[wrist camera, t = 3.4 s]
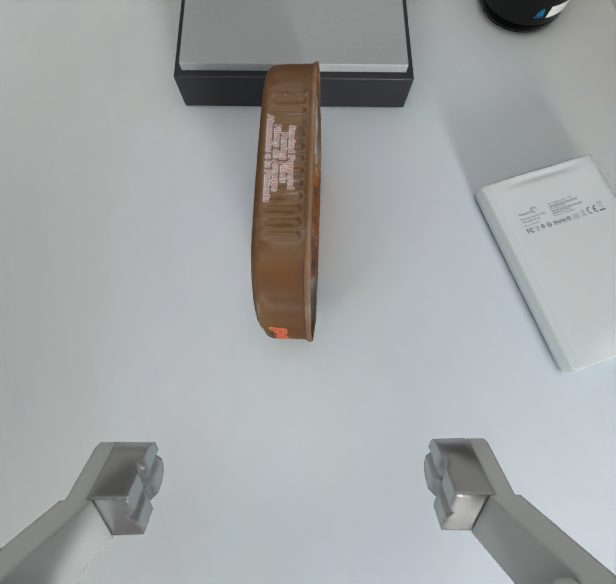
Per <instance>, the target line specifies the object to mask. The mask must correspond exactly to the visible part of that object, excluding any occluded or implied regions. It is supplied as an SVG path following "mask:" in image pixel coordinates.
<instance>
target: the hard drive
mask: <svg viewBox="0 0 616 584" xmlns="http://www.w3.org/2000/svg"><path fill="white" fill-rule="evenodd" d="M475 198H476V200H477V202H478V204H479V206H480V208H481V210H482V213H483V215H484V217H485V219H486V221H487V223H488V225H489V227H490V229H491V231H492V233H493V235H494V238H495V240H496V242H497V244H498V246H499V248H500V250H501V252H502V254H503V256H504V258H505V260H506V262H507V264H508V266H509V268H510V270H511V272H512V274H513V276H514V278H515V280H516V282H517V284H518V286H519V288H520V290H521V292H522V295H523V297H524V299H525V301H526V303H527V305H528V307H529V308H530V311H531V313H532V315H533V317H534V319H535V321H536V323H537V325H538V327H539V329H540V331H541V333H542V335H543V337H544V339H545V341H546V344H547V346H548V348H549V350H550V352H551V354H552V356H553V358H554V360H555V362H556V364H557V366H558V368H559V370H560V371H561V372H575V371H579V370H582V369H585V368H588V367H591V366H594V365H596V364H599V363H602V362H605V361H607V360H610V359H613V358H616V197H615V196H614V194H613V192H612V190H611V189H610V187H609V186H608V184H607V182H606V181H605V179H604V177H603V176H602V174H601V172H600V171H599V169H598V167H597V165H596V164H595V162H594V160H593V159H592V157H591V156H590V155H584V156H581V157H578V158H574V159H571V160H568V161H565V162H562V163H558V164H555V165H551V166H548V167H545V168H541V169H538V170H535V171H531V172H528V173H525V174H521V175H518V176H514V177H511V178H508V179H504V180H501V181H498V182H494V183H491V184H488V185H486V186H484V187H482V188H481V189H480V190H479V191H478V192H477V193H476V194H475Z"/></svg>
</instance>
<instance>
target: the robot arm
mask: <svg viewBox="0 0 616 584" xmlns="http://www.w3.org/2000/svg"><path fill="white" fill-rule="evenodd" d="M429 449H430V453H429V454H427V455H426V457H425V461H424V473H425V478H426V482H427V486H428V489H429V490H430V491H431V492H432V493H433V494H434V495H435V496H436V499H435V502H434V508H435V511H436V514H437V517H438V521H439V524H440V527H441V530H472V533H473V534H474V536H475V537H476V538H477V539H478V540H479V542H480V543H481V544H482V545H483V546H484V548H485V549H486V550H487V551H488V552H489V553H490V555H491V556H492V557H493V558H494V559H495V561H496V562H497V563H498V564H499V565H500V566H501V568H502V569H503V570H504V571H505V572H506V574H507V575H508V576H509V577H510V578H511V579H512V581H513V582H514V583H515V584H616V576H615V575H614V574H613V573H612V572H611V571H610V570H608V569H607V568H606V567H605V566H604V565H602V564H601V563H600V562H599V561H598V560H597V559H595V558H594V557H593V556H592V555H591V554H590V553H588V552H587V551H586V550H585V549H584V548H582V547H581V546H580V545H579V544H578V543H577V542H575V541H574V540H573V539H572V538H571V537H569V536H568V535H567V534H566V533H565V532H564V531H562V530H561V529H560V528H559V527H558V526H557V525H555V524H554V523H553V522H552V521H551V520H549V519H548V518H547V517H546V516H545V515H544V514H542V513H541V512H540V511H539V510H538V509H536V508H535V507H534V506H533V505H532V504H531V503H529V502H528V501H527V500H526V499H525V498H524V497H522V496H521V495H515V494H514V492H513V490H512V488H511V486H510V484H509V482H508V480H507V478H506V476H505V475H504V473H503V471H502V469H501V467H500V465H499V463H498V461H497V459H496V457H495V456H494V454H493V452H492V450H491V448H490V446H489V444H488V442H487V441H486V440H485V439H482V438H472V439H465V438H452V439H432V440H431V441H430V444H429ZM157 451H158V447H157V445H156V443H155V442H101V443H100V444H99V445H98V446H97V447H96V448H95V449H94V451H93V453H92V454H91V456H90V458H89V460H88V461H87V463H86V465H85V467H84V468H83V470H82V472H81V474H80V475H79V477H78V479H77V481H76V482H75V484H74V486H73V488H72V489H71V491H70V493H69V495H68V496H67V498H66V500H62V501H59V502H57V503H56V504H55V505H54V506H53V507H51V508H50V509H49V510H48V511H46V512H45V513H44V514H43V515H42V516H40V517H39V518H38V519H37V520H35V521H34V522H33V523H32V524H31V525H29V526H28V527H27V528H26V529H24V530H23V531H22V532H21V533H20V534H18V535H17V536H16V537H15V538H13V539H12V540H11V541H10V542H9V543H7V544H6V545H5V546H4V547H2V548H1V549H0V584H73V583H74V581H75V580H76V579H77V578H78V577H79V576H80V575H81V573H82V572H83V571H84V570H85V569H86V568H87V567H88V565H89V564H90V563H91V562H92V561H93V560H94V559H95V557H96V556H97V555H98V554H99V553H100V552H101V551H102V549H103V548H104V547H105V546H106V545H107V544H108V543H109V541H110V540H111V539H112V538H113V536H112V535H134V534H144V532H145V530H146V527H147V524H148V521H149V518H150V515H151V513H152V510H153V507H152V504H151V501H150V500H151V499H152V498H153V497H154V496H155V495H156V494H157V493H158V492H159V490H160V487H161V484H162V479H163V473H164V467H163V461H162V458H160V457H159V456H157V455H156V454H157Z"/></svg>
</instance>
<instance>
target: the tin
mask: <svg viewBox="0 0 616 584" xmlns="http://www.w3.org/2000/svg"><path fill="white" fill-rule="evenodd" d="M320 169H321V114H320V66H319V62H318V61H316V62H314V63H312V64H280V65H275V66H272V67H271V68H270V69H269V70H268V72H267V75H266V78H265V83H264V88H263V97H262V108H261V119H260V130H259V142H258V154H257V169H256V180H255V197H254V211H253V226H252V245H251V273H252V289H253V299H254V305H255V311H256V315H257V319H258V321H259V324H260V326H261V327H262V328H263V329H264V331H265V332H266V334H267V335H268V336H269V337H272V338H279V339H306V340H308V341H310V342H312V341H313V337H314V329H315V322H316V305H317V277H318V243H319V215H320V180H321V175H320V174H321V171H320Z"/></svg>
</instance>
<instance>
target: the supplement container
mask: <svg viewBox="0 0 616 584" xmlns="http://www.w3.org/2000/svg"><path fill="white" fill-rule="evenodd" d="M569 1H570V0H480V2H481V6H482V8H483V11H484V12H485V14H486V15H487V17H488V18H489V19H490V20H491V21H492V22H494V23H495V24H497V25H498V26H500V27H502V28H504V29H507V30H510V31H514V32H532V31H536V30H539V29H542V28H544V27H546V26H547V25H549V24H550V23H552V22H553V21H554V20H555V19H556V18H557V17H558V16H559V15H560V13H561V12H562V11H563V9H564V8H565V6H566V5H567V4H568V2H569Z"/></svg>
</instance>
